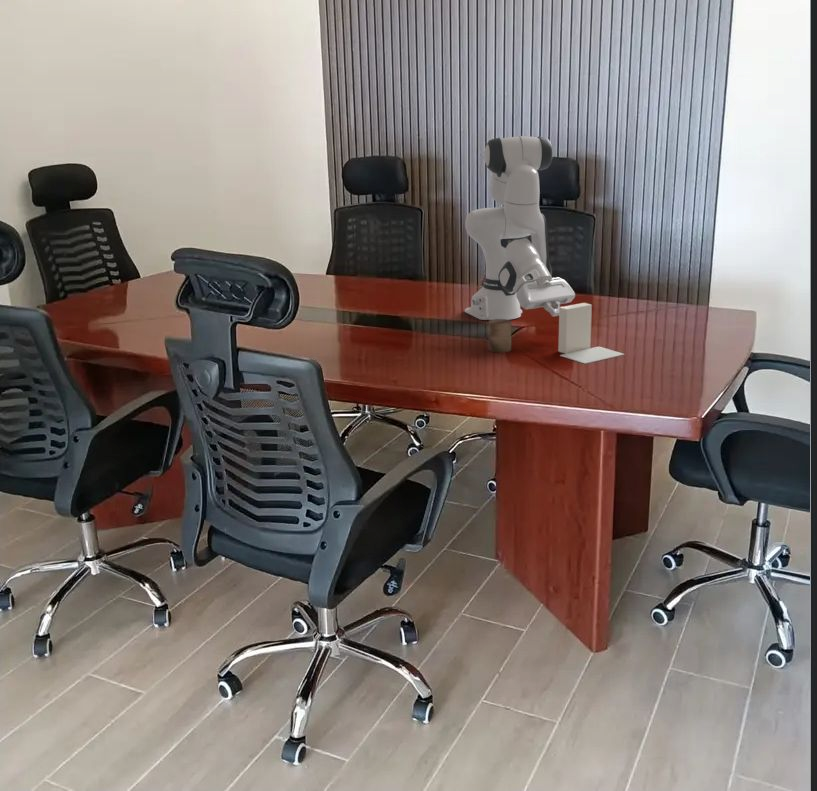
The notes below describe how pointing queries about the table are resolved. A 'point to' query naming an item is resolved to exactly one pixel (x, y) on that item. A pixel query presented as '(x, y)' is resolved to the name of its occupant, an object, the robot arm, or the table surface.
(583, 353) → the felt mat
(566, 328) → the card box
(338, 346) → the table surface
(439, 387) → the table surface
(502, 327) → the tan cardboard tube
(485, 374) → the table surface
